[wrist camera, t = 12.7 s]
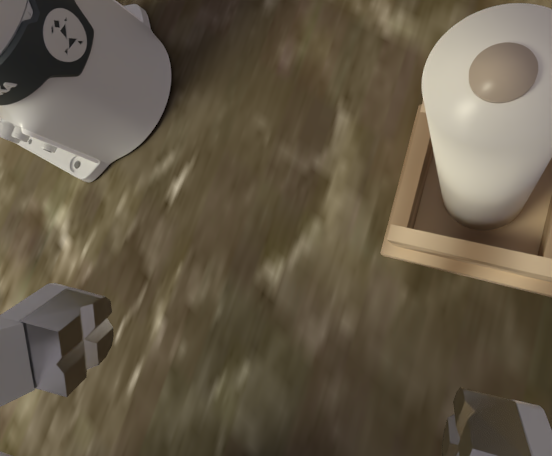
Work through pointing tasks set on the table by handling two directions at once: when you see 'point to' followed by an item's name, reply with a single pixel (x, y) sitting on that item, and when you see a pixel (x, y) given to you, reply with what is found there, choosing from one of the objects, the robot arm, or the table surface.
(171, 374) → the table surface
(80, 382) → the robot arm
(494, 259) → the holder
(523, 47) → the roll
